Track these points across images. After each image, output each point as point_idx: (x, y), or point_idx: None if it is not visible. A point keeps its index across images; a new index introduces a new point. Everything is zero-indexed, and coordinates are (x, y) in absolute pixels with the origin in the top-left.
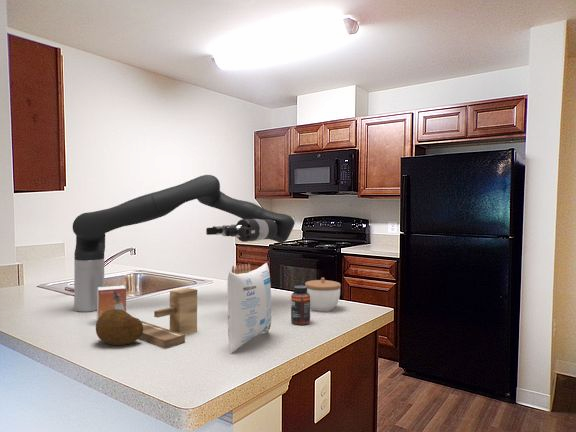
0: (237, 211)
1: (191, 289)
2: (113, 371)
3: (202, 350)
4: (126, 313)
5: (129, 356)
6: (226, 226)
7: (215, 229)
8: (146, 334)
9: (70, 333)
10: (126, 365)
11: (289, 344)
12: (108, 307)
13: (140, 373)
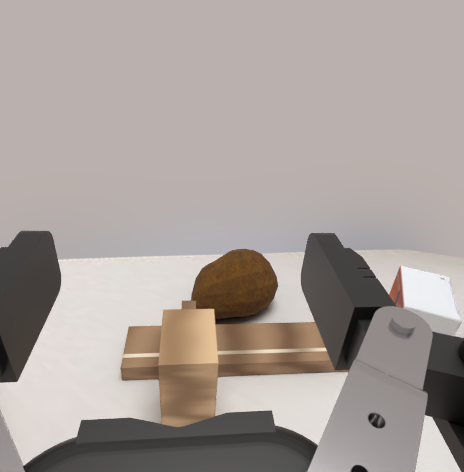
0: None
1: (178, 355)
2: (123, 265)
3: (47, 376)
4: (223, 268)
5: (154, 293)
6: (333, 417)
7: (340, 312)
8: None
9: None
10: (126, 279)
11: None
12: None
13: (83, 277)
